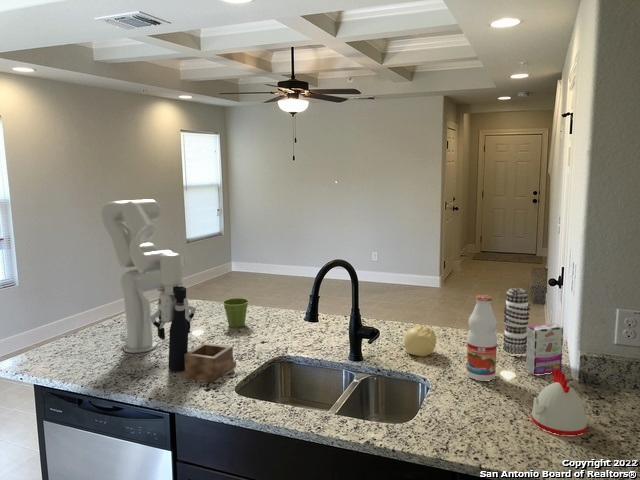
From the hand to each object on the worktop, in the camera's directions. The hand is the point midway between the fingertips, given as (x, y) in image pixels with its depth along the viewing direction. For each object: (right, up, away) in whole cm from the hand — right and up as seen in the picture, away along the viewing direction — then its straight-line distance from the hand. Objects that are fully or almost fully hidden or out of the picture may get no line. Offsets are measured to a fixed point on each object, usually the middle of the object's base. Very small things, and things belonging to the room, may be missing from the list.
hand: (174, 335), depth 181 cm
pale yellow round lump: (+90, -10, +14) cm, 91 cm away
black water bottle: (+1, -12, +1) cm, 12 cm away
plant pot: (+14, -5, +50) cm, 52 cm away
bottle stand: (+13, -12, -1) cm, 18 cm away
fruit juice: (+106, -13, -8) cm, 107 cm away
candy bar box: (+129, -12, -5) cm, 129 cm away
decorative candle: (+126, -9, +13) cm, 127 cm away
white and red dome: (+118, -17, -40) cm, 126 cm away
